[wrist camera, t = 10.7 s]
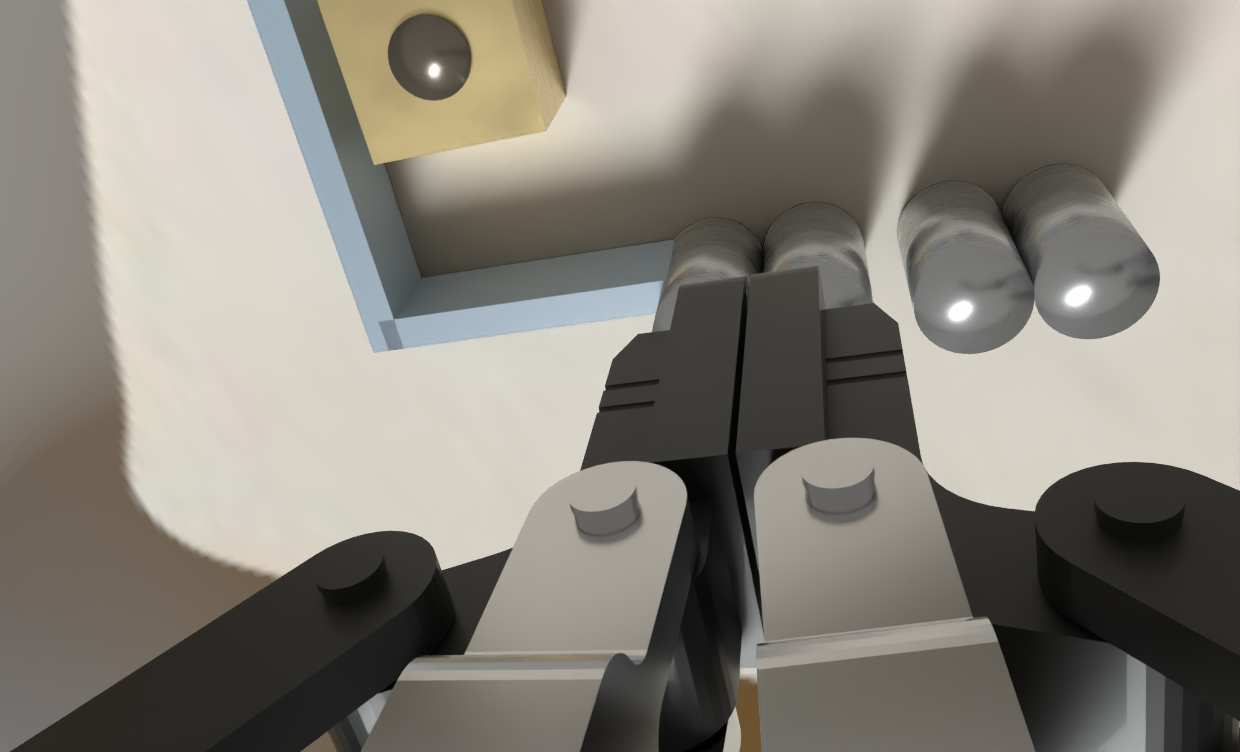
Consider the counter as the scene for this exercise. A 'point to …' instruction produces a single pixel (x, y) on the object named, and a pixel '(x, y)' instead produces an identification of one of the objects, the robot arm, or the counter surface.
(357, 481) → the counter surface
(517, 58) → the yellow knobbed block
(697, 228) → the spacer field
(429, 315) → the parts bay
